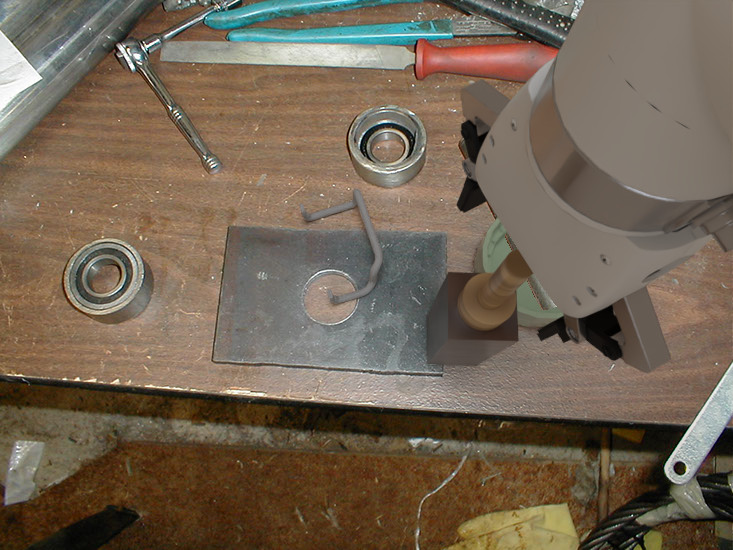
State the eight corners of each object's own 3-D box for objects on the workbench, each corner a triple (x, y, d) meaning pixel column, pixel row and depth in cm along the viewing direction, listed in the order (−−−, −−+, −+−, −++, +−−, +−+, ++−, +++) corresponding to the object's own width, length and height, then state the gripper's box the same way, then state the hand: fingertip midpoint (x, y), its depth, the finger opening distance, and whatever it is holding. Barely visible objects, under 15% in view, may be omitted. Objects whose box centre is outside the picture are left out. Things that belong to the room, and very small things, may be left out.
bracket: (304, 217, 72) (296, 202, 67) (361, 198, 72) (357, 181, 67) (333, 308, 69) (327, 299, 64) (393, 287, 69) (391, 277, 64)
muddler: (508, 331, 47) (557, 297, 35) (457, 330, 47) (487, 295, 35) (507, 282, 48) (554, 231, 36) (457, 280, 49) (486, 229, 36)
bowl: (591, 329, 67) (611, 320, 62) (474, 325, 68) (484, 316, 62) (582, 220, 71) (601, 202, 65) (472, 217, 71) (481, 199, 66)
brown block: (476, 366, 66) (518, 341, 47) (426, 364, 66) (448, 339, 47) (475, 317, 68) (515, 273, 49) (426, 315, 68) (447, 271, 49)
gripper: (897, 284, 18) (642, 350, 34) (592, -91, 22) (496, 131, 38) (708, 397, 17) (540, 409, 33) (427, -16, 21) (401, 178, 37)
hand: (517, 260), depth 36 cm, fingers open, 9 cm apart
